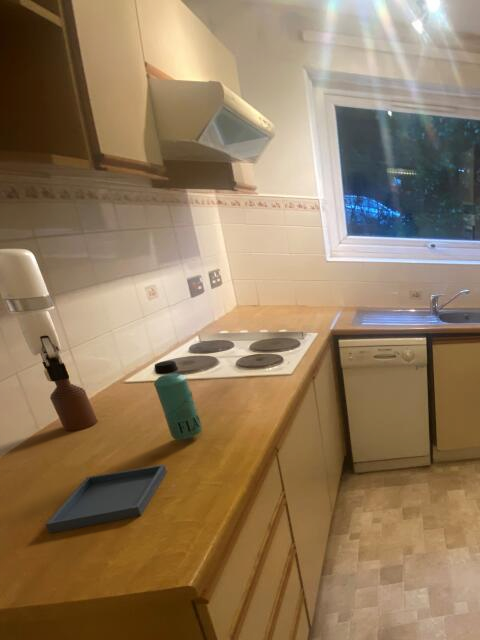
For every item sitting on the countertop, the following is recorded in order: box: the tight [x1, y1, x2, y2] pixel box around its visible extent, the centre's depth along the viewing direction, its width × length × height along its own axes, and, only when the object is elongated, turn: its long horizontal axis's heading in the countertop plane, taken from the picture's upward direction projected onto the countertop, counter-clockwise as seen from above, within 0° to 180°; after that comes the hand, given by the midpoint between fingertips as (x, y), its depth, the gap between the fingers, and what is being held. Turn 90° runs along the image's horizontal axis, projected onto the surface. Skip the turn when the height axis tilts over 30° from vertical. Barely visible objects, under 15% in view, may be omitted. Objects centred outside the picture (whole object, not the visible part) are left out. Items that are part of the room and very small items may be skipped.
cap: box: [43, 365, 71, 382], centre depth 107 cm, size 4×4×3 cm
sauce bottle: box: [49, 378, 99, 432], centre depth 110 cm, size 6×6×14 cm
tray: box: [45, 464, 168, 534], centre depth 85 cm, size 13×15×2 cm
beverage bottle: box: [153, 360, 203, 440], centre depth 103 cm, size 6×7×20 cm
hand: (58, 376), depth 108 cm, fingers closed on cap, 4 cm apart
